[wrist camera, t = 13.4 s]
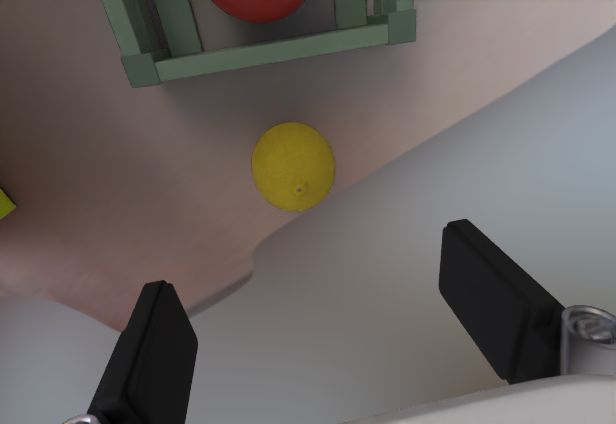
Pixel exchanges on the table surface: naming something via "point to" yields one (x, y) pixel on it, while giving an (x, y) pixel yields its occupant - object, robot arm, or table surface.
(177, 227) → the table surface
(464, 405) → the robot arm
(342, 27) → the crate
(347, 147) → the table surface
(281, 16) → the apple
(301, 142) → the lemon
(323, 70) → the table surface
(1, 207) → the snack box
